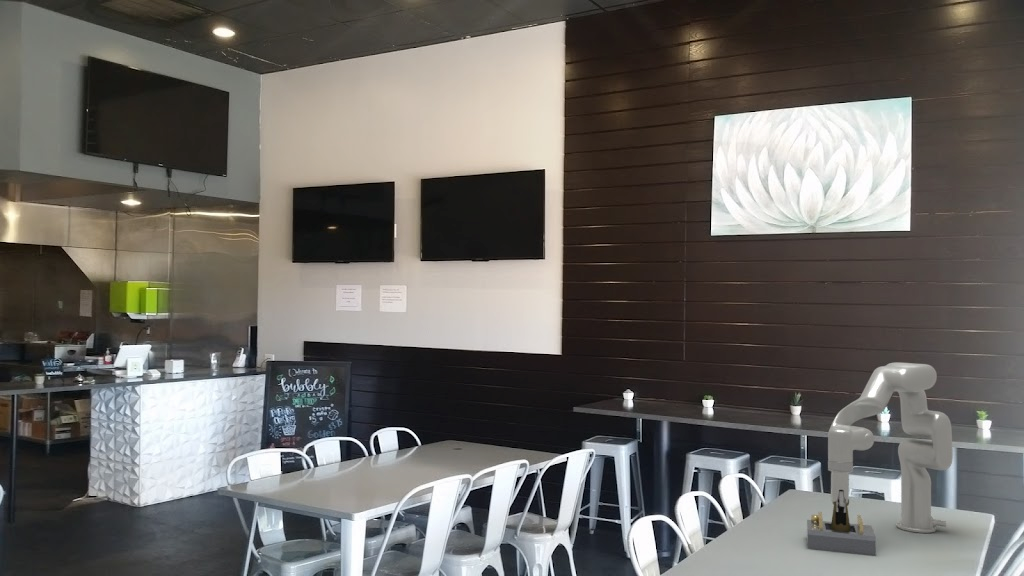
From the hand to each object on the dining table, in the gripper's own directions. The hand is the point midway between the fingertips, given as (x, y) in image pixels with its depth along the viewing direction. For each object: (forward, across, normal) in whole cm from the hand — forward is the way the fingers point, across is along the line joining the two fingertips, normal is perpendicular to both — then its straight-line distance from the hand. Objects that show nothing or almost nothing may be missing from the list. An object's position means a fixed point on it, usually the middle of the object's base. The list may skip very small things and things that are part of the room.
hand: (840, 522), depth 262 cm
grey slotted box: (+8, 0, 0) cm, 8 cm away
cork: (+2, 0, 0) cm, 2 cm away
